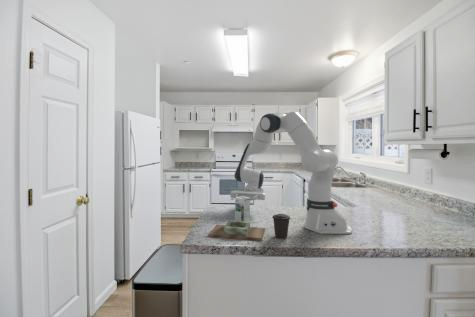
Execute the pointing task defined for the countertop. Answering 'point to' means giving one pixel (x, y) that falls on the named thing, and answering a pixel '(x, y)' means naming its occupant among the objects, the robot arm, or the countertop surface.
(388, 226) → the countertop surface
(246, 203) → the syrup box
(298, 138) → the robot arm
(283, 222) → the coffee cup
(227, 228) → the collar stand
